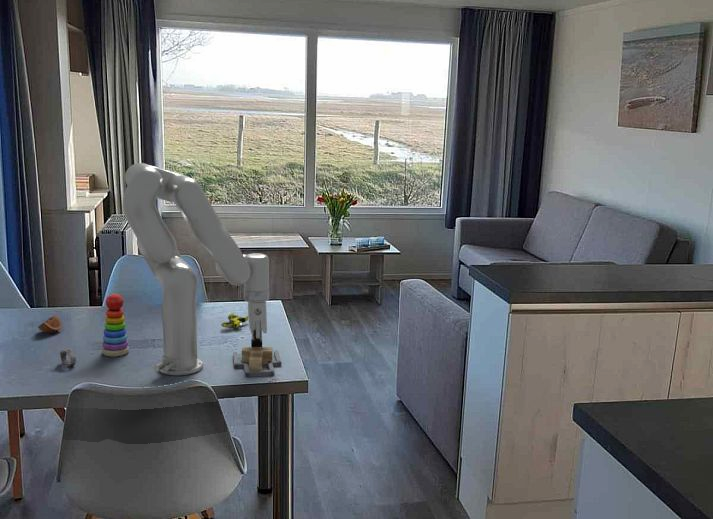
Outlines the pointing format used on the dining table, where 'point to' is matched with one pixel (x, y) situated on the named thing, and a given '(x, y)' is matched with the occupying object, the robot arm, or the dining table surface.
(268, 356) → the oak t block
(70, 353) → the wristwatch
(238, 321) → the toy motorcycle
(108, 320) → the stacking toy
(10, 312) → the dining table surface
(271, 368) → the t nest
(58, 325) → the fruit slice
